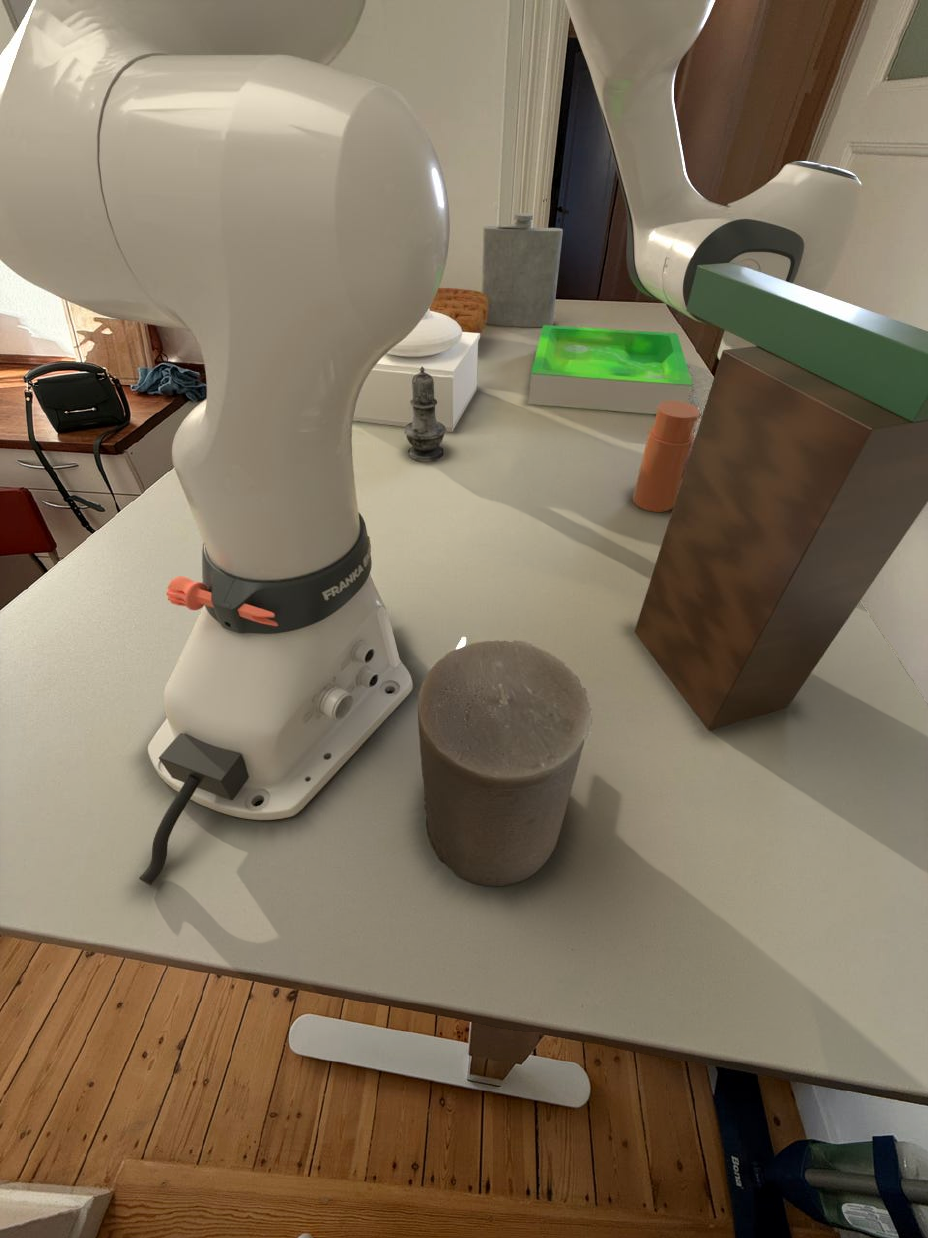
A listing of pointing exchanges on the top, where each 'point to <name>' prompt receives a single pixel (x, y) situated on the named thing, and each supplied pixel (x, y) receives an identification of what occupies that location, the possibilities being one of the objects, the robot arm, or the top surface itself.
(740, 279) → the rod
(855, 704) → the top surface
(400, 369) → the butter dish
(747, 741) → the top surface
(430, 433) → the salt shaker
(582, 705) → the pillar candle
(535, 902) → the top surface
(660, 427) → the jar
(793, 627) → the stand
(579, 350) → the tray
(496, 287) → the hip flask
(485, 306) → the clay tablet
